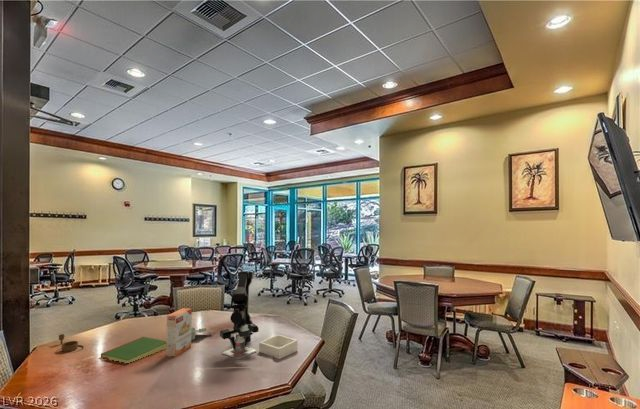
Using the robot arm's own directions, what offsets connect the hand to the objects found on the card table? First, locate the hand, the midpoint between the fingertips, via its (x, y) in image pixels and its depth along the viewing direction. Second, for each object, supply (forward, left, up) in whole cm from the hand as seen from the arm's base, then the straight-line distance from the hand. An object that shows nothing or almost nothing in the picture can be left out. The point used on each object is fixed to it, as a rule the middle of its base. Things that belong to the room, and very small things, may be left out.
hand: (239, 347), depth 174 cm
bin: (+14, +14, -3) cm, 20 cm away
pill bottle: (0, 0, -3) cm, 3 cm away
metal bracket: (-34, +7, -2) cm, 35 cm away
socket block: (0, 0, -3) cm, 3 cm away
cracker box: (-28, -16, -4) cm, 32 cm away
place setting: (-78, -47, -4) cm, 91 cm away
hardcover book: (-44, -31, -4) cm, 54 cm away
